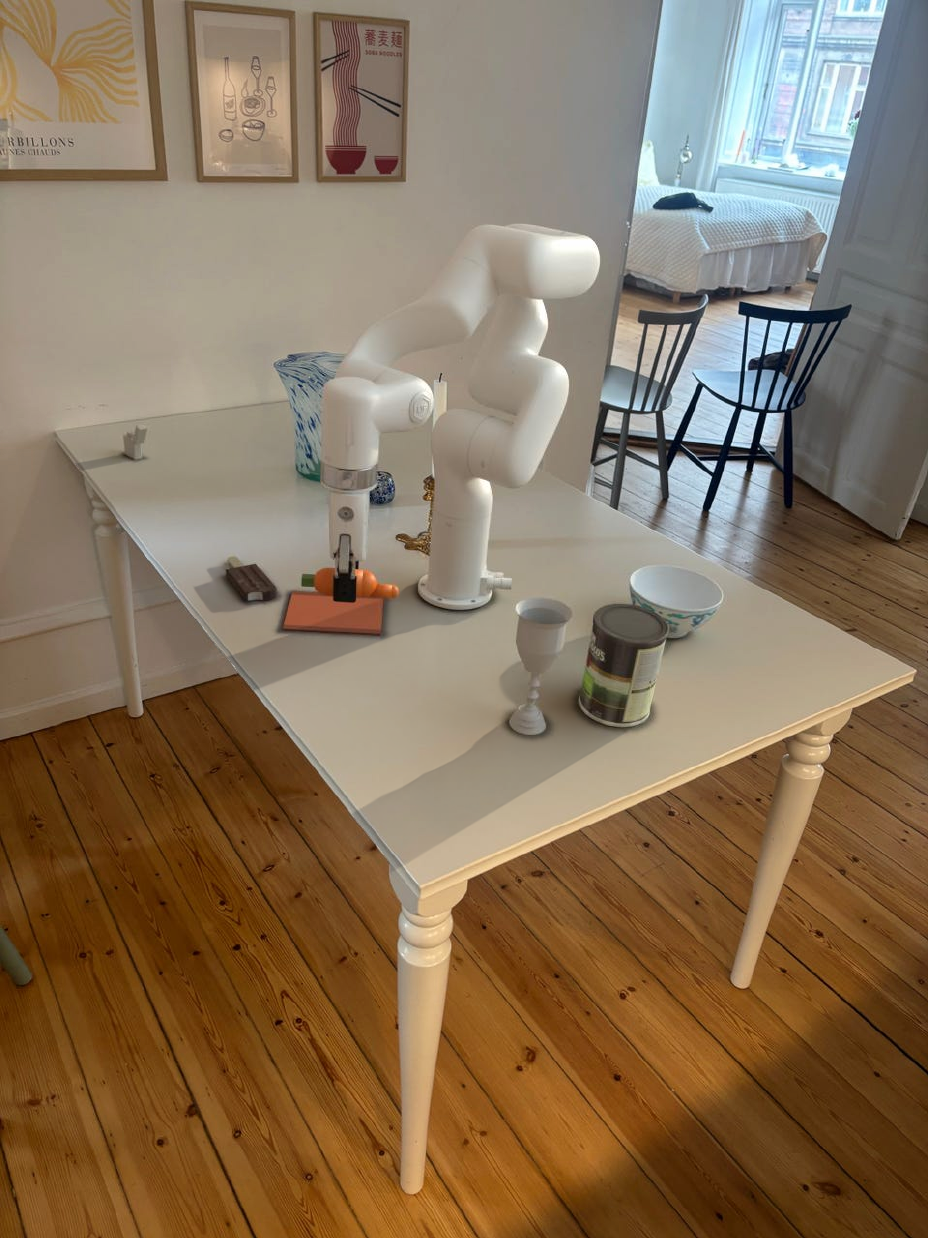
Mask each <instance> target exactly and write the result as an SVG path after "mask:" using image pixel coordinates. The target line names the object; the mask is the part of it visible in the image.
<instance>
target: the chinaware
mask: <svg viewBox="0 0 928 1238" xmlns="http://www.w3.org/2000/svg"><path fill="white" fill-rule="evenodd" d="M629 595H630V599H631V602H632V605H637V606H641V607H644V608H647V609H649V610H651V611H653V612H655V613H657V614H659V615H660V616H661V617H663V618H664V619H665V620H666V622H667V623H668V626H669V634H668V636H667V638H669V639H678V638H682V637H685V636H686V635H687V634H688V633H690V632H692V631H695V630H697V629H699V628H700V627H703V626H704V625H706V624H707V623H708V622H709V621H710V620H711V619H712V618H713V616H714V615H715V614H716V613H717V612H718V609H719V608H720V606H721V605H722V602H723V601H724V592H723V589H722V587H720V585H719V584H718V583H717V582H715V580H713V579H711V578H710V577H708V576H707V575H705V574H702V573H700V572H698V571H696V570H693V569H689V568H686V567H682V566H676V565H667V564H665V565H664V564H657V565H656V564H655V565H647V566H644V567H640V568H638V569H636V570H634V572H632V573H631V575H630V577H629Z"/></svg>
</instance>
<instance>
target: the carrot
mask: <svg viewBox="0 0 928 1238" xmlns="http://www.w3.org/2000/svg"><path fill="white" fill-rule="evenodd" d="M334 575H335V567H323V568H320V569H318V570H317V571H316V573H302V574H301V578H300V580H301V582H300V583H301V584H300V586H301V588H314V589H315V590H316V591H315V592H318V593H320V594H322V595H326V596H333V576H334ZM355 576H357V586H356V597H358V598H365V597H373V598H383V599H389V600H391V599H396V598H397V597H398V596H399V593H400V590H399V588H398V586H397V585H395V584H388V583H378V581H377V578H376V576H375V575H374V573H372V572H371V571H369V570H368V569H367V570H366V569H355Z"/></svg>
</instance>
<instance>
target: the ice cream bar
mask: <svg viewBox="0 0 928 1238" xmlns="http://www.w3.org/2000/svg"><path fill="white" fill-rule="evenodd" d="M227 562H228V564H229V565H230V568H226V569H225V576H226V578H227V579H228V580H229V582H230V583H231V584H232V586H233V587H234V588H235V589H236V591H237V593H239V594H240V596H241V597H242V598H243V600H244V601H245V602H254V601H263V602H266V601H270V600H274V599H275V598H276V597H277V586H276V585H275V584H274V583H273V582H272V581H271V579H270V578H269V577H268V576H267V575H266V573H264V572H263V570H262V569H261V568H260V567H259V565H258V564H257V563H251V564H246V565H245V564H243V563H242V562H241V560H240V559H239V558H238V557H237V556H235V555H232V556H228V557H227Z"/></svg>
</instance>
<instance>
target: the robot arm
mask: <svg viewBox="0 0 928 1238" xmlns="http://www.w3.org/2000/svg"><path fill="white" fill-rule="evenodd" d="M600 265H601V255H600V251H599V248H598V246H597V244H596V242H595V241H594V240H593V239H592V238H590V236H587V235H584V234H580V233H576V232H570V231H565V230H560V229H555V228H550V227H545V226H540V225H535V224H530V223H529V224H528V223H511V224H506V225H505V226H503V225H496V224H481V225H478V226H475V227H474V228H471V229H470V230H469V232H467V234H465V236H464V237H463V239H462V240H461V241H460V242H459V244H458V246H457V247H456V249H455V250H454V251H453V253H452V254H451V255H450V257H449V258H448V260H447V261H446V263H445V264H444V265H443V266H442V268H441V270H440V271H439V272H438V274H437V275H436V277H435V278H434V279H433V281H432V282H431V283H430V285H429V286H428V288H427V289H426V291H425V292H424V293H423V294H422V295H421V297H420V298H418V299H417V300H415V301H413V302H410V303H408V304H406V305H404V306H402V307H400V308H398V309H396V310H395V311H392V312H391V313H389V314H388V315H386V316H384V317H382V318H381V319H379V320H377V321H376V322H374V323H372V324H371V325H369V327H368V328H366V329H365V330H364V331H363V332H362V333H361V334H360V335H359V337H357V339H356V341H355V342H354V343H353V345H352V346H351V348H350V349H349V350H348V352H347V353H346V355H344V358H343V359H342V361H341V363H340V364H339V366H338V368H337V369H336V372H335V374H334V377H333V378H331V379H329V380H327V381H326V383H325V384H323V387H322V389H321V418H320V419H321V426H320V427H321V428H320V430H321V431H320V433H321V434H320V435H321V436H320V485H321V486H322V487H323V488H325V489H326V490H328V491H329V493H328V543H329V557H330V558H331V560H333V561H334V568H335V575H334V576H333V601H335V602H349V603H354V602H355V601H356V586H357V576H355V569H359V567H360V562H361V563H363V562H364V561H365V560H366V558H367V554H368V546H369V545H368V544H369V526H370V524H369V523H370V492H371V491H373V490H375V489H376V488H377V486H378V471H379V470H378V469H379V468H378V467H379V449H380V436H381V435H382V434H390V433H391V434H392V433H394V434H395V433H405V432H410V431H413V430H416V429H418V428H419V427H421V426H422V425H424V424H425V423H426V422H427V421H428V419H429V418H430V417H431V414H432V412H433V409H434V405H435V398H434V393H433V391H432V389H431V387H430V386H429V385H428V383H427V382H426V381H425V380H424V379H422V378H420V377H418V376H416V375H413V374H411V373H408V372H405V371H401V370H398V369H395V368H393V367H390V366H391V365H393V364H394V363H395V362H396V361H398V360H400V359H402V358H403V357H406V356H408V355H409V354H413V353H416V352H420V351H423V350H425V351H426V350H430V349H436V348H442V347H447V346H452V345H457V344H460V343H464V342H465V341H467V340H468V339H469V338H471V336H472V335H473V334H474V332H475V330H476V329H477V328H478V326H479V325H480V323H481V322H482V320H483V319H484V317H485V316H486V314H487V313H488V312H489V310H490V309H491V307H492V306H493V304H494V303H495V302H496V300H497V306H496V311H495V315H494V317H493V320H492V323H491V325H490V327H489V329H488V331H487V333H486V336H485V338H484V339H483V342H482V344H481V347H480V349H479V351H478V353H477V355H476V358H475V360H474V362H473V364H472V366H471V369H470V372H469V375H468V379H467V382H466V383H467V385H466V386H467V388H466V389H467V392H468V395H469V397H471V399H472V400H473V401H474V402H476V403H478V404H480V405H482V406H484V407H486V408H489V409H492V410H495V411H498V412H501V413H504V414H508V415H511V416H514V417H515V419H514V421H510V420H506V419H502V418H499V417H497V416H494V415H491V414H488V413H485V412H482V411H479V410H475V409H471V408H466V407H465V408H464V407H454V408H451V409H448V410H446V411H444V412H443V413H442V414H440V415H439V416H438V418H437V419H436V420H435V422H434V425H433V427H432V431H431V437H430V444H431V445H430V448H431V456H432V462H433V463H432V464H433V475H434V482H433V483H434V484H433V485H434V486H433V487H434V488H433V503H432V515H431V527H430V528H431V529H430V544H429V556H428V571H427V573H426V574H424V575H422V576H421V578H420V579H419V580H418V584H417V592H418V594H419V596H420V597H421V598H422V599H423V600H424V601H426V602H427V603H429V604H431V605H433V606H435V607H438V608H442V609H447V610H452V611H454V610H455V611H465V610H473V609H478V608H479V607H482V606H485V605H486V604H487V603H489V601H491V599H492V596H493V589H499V590H509V591H510V590H512V587H513V579H512V578H511V577H504V572H500V571H499V572H498V571H496V572H494V571H493V572H492V571H490V570H488V567H487V556H488V548H489V538H490V537H489V536H490V528H491V519H492V512H493V502H494V501H493V498H494V497H493V491H492V487H491V483H492V484H494V485H497V486H501V487H503V488H507V489H513V490H515V489H520V488H522V487H524V486H526V485H527V484H528V483H529V481H531V480H532V478H533V476H534V475H535V473H536V472H537V470H538V468H539V466H540V463H541V461H542V459H543V457H544V455H545V452H546V450H547V448H548V446H549V444H550V442H551V439H552V437H553V436H554V433H555V431H556V429H557V427H558V424H559V422H560V420H561V417H562V416H563V413H564V410H565V409H566V408H565V407H566V405H567V403H568V397H569V392H570V391H569V390H570V380H569V375H568V372H567V370H566V369H565V367H564V366H563V365H562V364H561V363H559V362H557V361H555V360H553V359H551V358H548V357H544V356H541V355H539V353H540V351H541V349H542V346H543V344H544V341H545V339H546V337H547V333H548V329H549V319H548V314H547V310H546V307H545V304H544V300H546V301H549V300H558V299H559V300H560V299H568V298H570V299H571V298H576V297H579V296H582V294H585V293H586V292H587V291H588V290H589V289H590V288H591V287H592V286H593V284H594V283H595V281H596V279H597V277H598V275H599V270H600Z"/></svg>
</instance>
